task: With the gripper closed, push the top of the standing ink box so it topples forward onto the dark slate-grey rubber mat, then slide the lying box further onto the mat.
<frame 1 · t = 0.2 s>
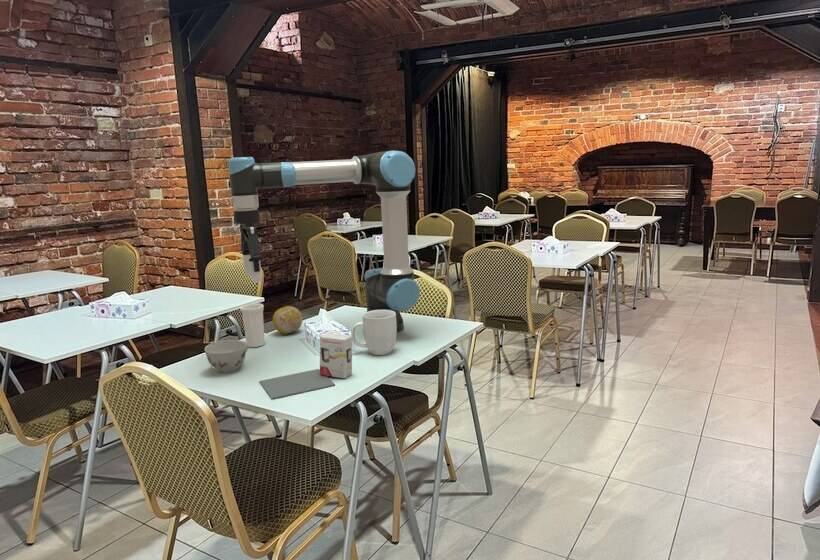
hand: (253, 278, 179), 28 cm above the table, fingers open, 13 cm apart
cup: (255, 345, 204), on the table
ink box: (336, 375, 171), on the table, touching mat
mug: (378, 352, 191), on the table
mat: (296, 383, 166), on the table
fruit: (288, 333, 217), on the table
teacup: (231, 369, 182), on the table
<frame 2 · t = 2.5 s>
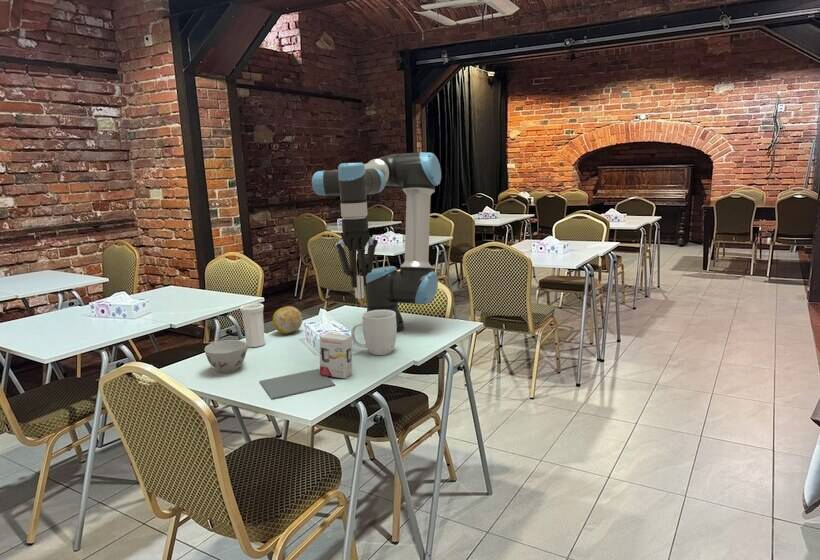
hand: (359, 297, 171), 22 cm above the table, fingers closed
nothing on the table moved.
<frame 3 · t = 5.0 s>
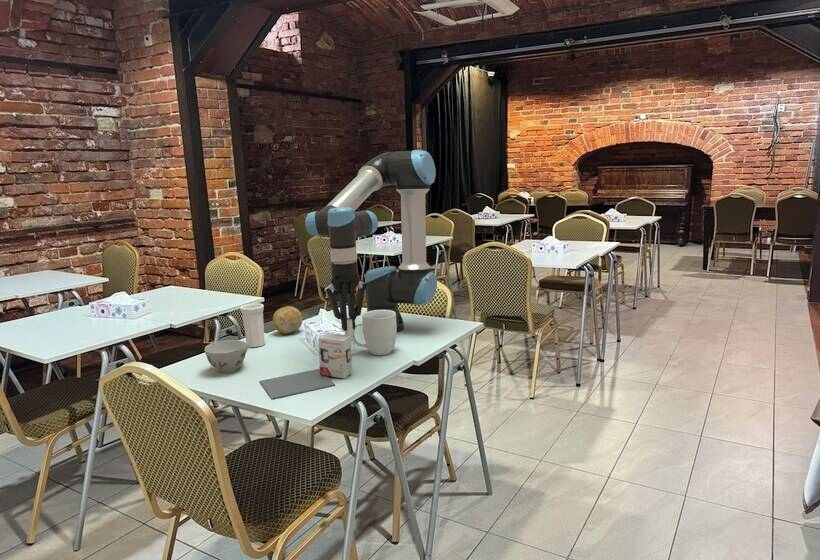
hand: (349, 340, 171), 10 cm above the table, fingers closed
ink box: (336, 374, 171), on the table, touching gripper, mat
everything else where it was.
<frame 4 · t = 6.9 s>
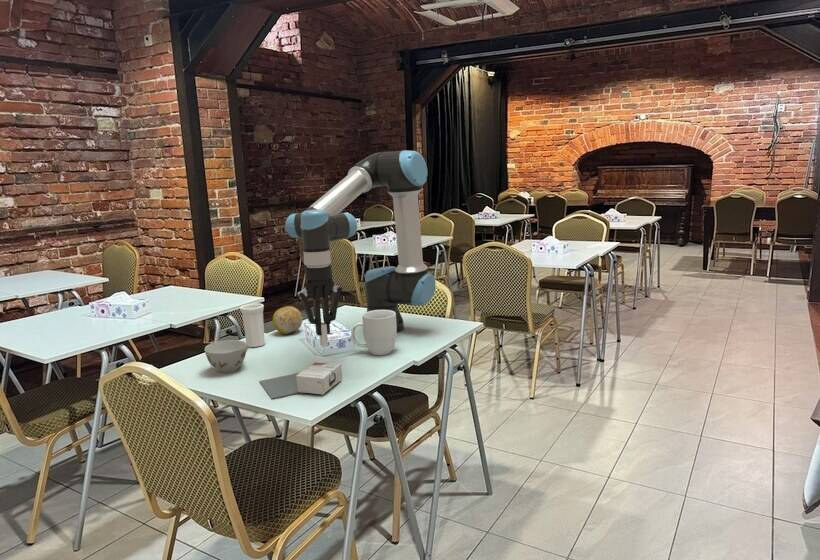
hand: (324, 345, 168), 10 cm above the table, fingers closed
ink box: (329, 369, 168), point 3 cm above the table, touching mat
everything else where it was.
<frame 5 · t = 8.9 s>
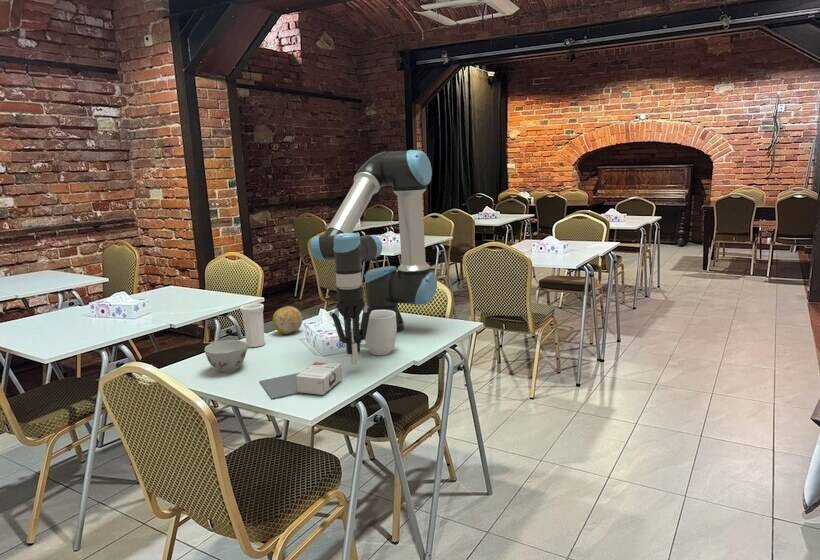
hand: (354, 363, 173), 3 cm above the table, fingers closed
nothing on the table moved.
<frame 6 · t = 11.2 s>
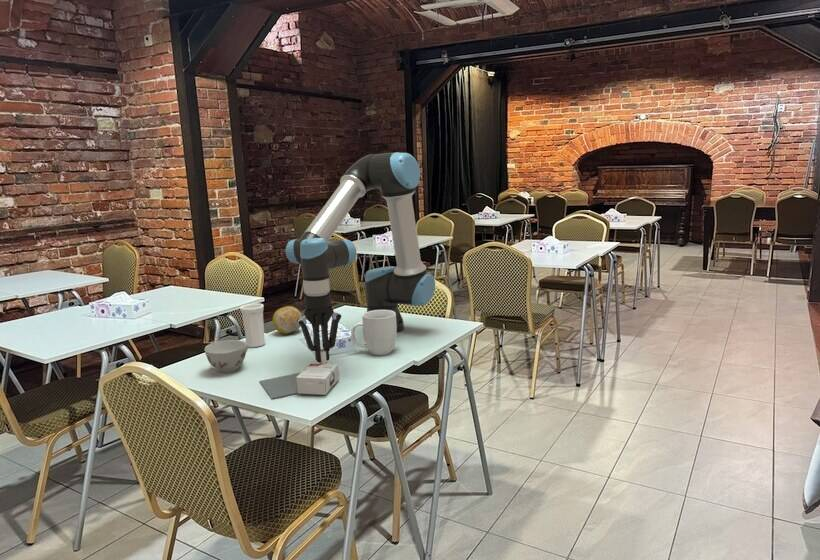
hand: (323, 371, 169), 2 cm above the table, fingers closed
ink box: (325, 370, 167), point 3 cm above the table, touching gripper, mat
everything else where it was.
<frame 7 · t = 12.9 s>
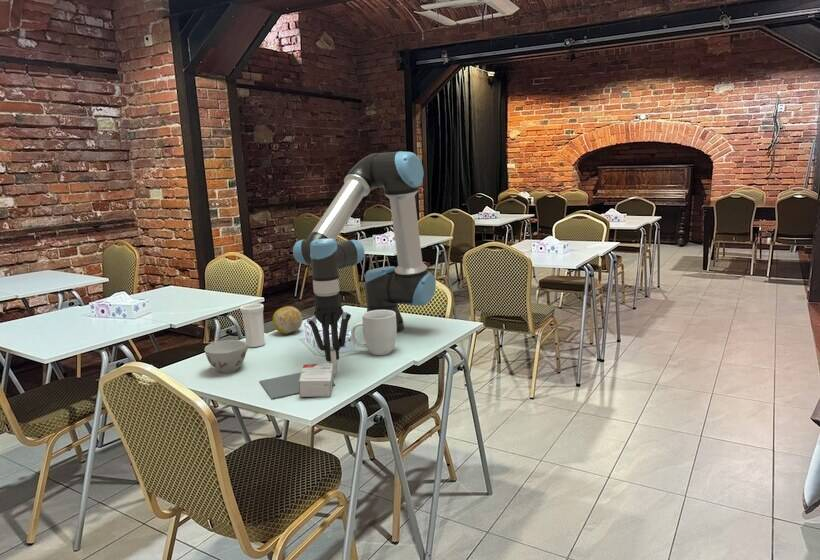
hand: (333, 370, 171), 2 cm above the table, fingers closed
ink box: (319, 370, 167), point 3 cm above the table, touching mat
everything else where it was.
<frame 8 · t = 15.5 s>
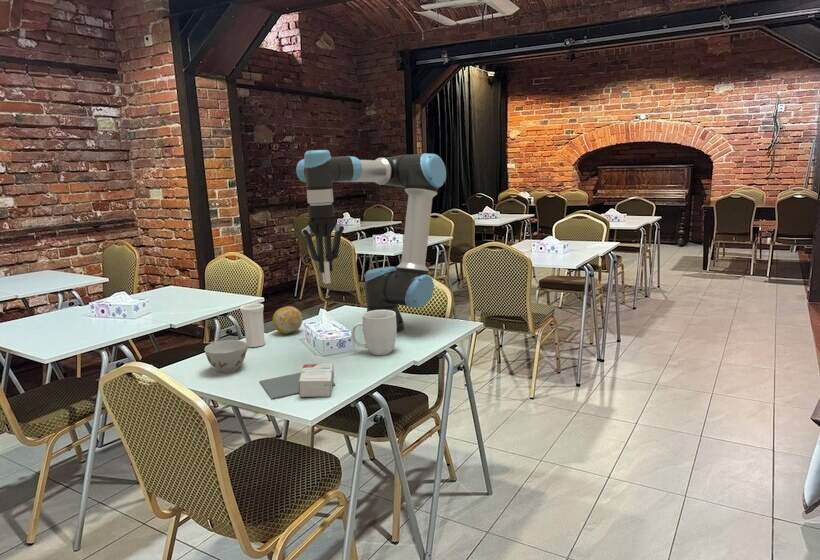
hand: (326, 282, 174), 26 cm above the table, fingers closed
nothing on the table moved.
at the end: ink box tilted 95°; ink box inside the target area (7.5 cm from its centre), point 3.4 cm above the table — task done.
